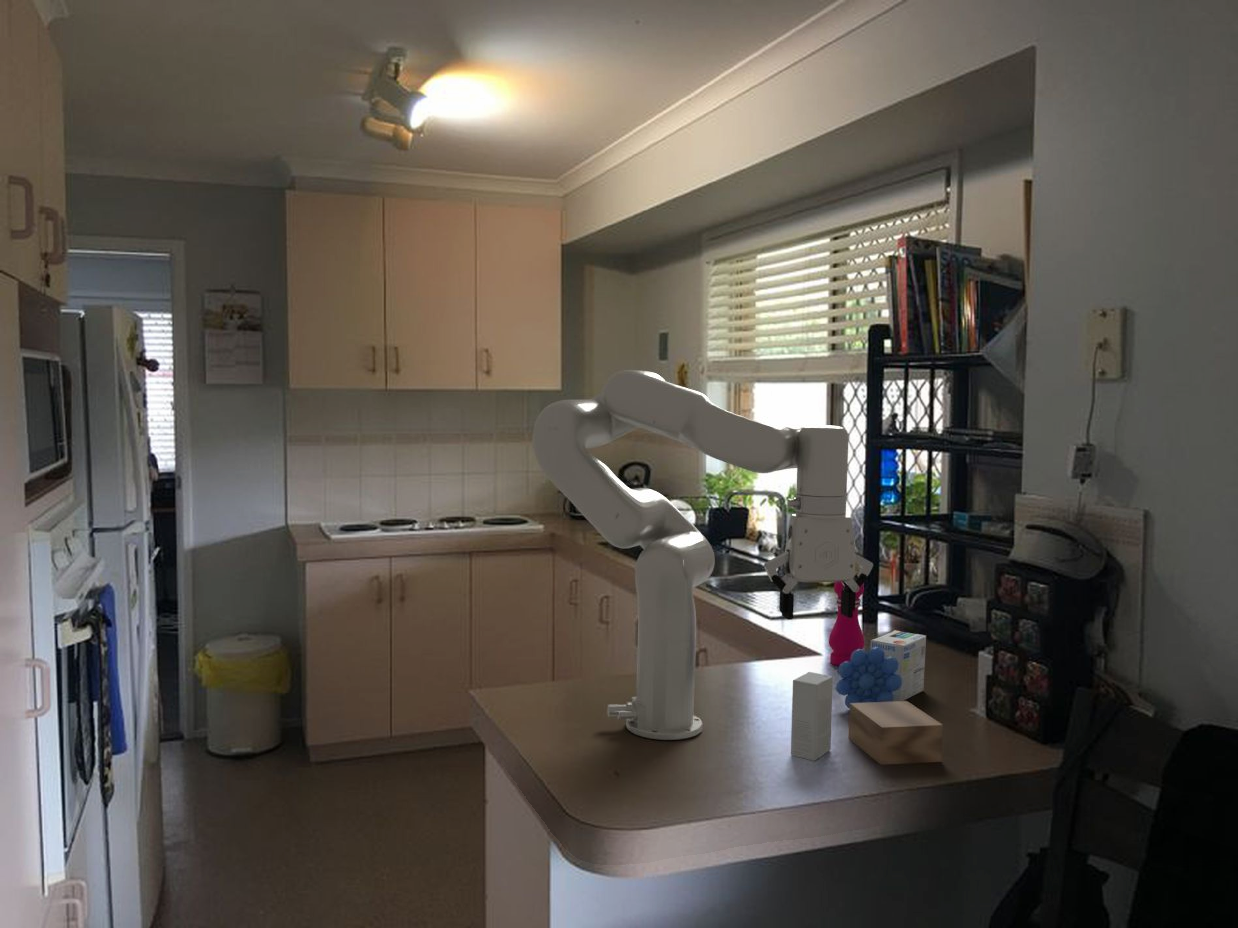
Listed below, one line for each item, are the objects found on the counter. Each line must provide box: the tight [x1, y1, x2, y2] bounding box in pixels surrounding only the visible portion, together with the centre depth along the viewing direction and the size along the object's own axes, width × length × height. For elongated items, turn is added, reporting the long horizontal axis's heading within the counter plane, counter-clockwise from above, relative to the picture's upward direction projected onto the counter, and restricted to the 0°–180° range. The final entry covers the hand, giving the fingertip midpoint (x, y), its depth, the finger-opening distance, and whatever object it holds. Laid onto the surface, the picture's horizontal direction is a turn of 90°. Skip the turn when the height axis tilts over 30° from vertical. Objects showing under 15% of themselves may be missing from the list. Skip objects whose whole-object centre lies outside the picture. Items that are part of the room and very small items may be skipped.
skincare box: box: [790, 671, 834, 761], centre depth 161 cm, size 6×4×12 cm
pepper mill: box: [828, 582, 865, 667], centre depth 214 cm, size 7×7×20 cm
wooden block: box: [847, 700, 944, 766], centre depth 164 cm, size 10×12×6 cm
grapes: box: [835, 647, 902, 709], centre depth 182 cm, size 12×7×12 cm, turn 59°
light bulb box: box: [869, 630, 927, 702], centre depth 194 cm, size 11×7×11 cm, turn 141°
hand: (817, 616), depth 160 cm, fingers open, 9 cm apart
